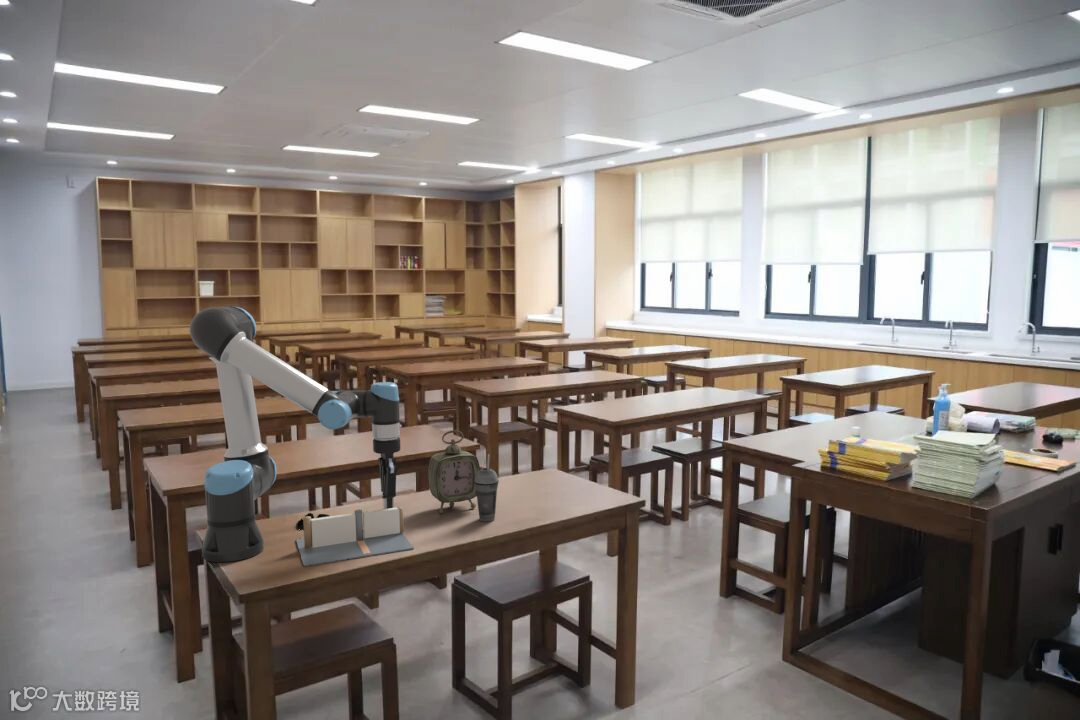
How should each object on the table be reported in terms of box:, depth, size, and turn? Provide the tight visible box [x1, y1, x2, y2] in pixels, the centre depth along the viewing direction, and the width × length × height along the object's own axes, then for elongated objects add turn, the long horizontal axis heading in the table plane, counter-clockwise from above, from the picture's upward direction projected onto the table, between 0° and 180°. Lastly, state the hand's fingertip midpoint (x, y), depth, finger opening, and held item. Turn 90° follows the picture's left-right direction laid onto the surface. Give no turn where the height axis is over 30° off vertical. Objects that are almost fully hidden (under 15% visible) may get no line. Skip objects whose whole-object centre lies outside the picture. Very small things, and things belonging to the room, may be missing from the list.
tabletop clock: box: [427, 430, 481, 514], centre depth 226 cm, size 14×9×25 cm, turn 117°
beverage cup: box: [474, 453, 500, 522], centre depth 216 cm, size 7×7×20 cm
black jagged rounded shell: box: [296, 512, 330, 532], centre depth 214 cm, size 12×10×5 cm
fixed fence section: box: [302, 509, 363, 548], centre depth 197 cm, size 16×2×9 cm, turn 114°
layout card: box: [295, 531, 414, 567], centre depth 197 cm, size 28×20×1 cm
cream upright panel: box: [362, 506, 405, 538], centre depth 203 cm, size 11×2×7 cm, turn 114°
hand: (389, 519), depth 206 cm, fingers closed
